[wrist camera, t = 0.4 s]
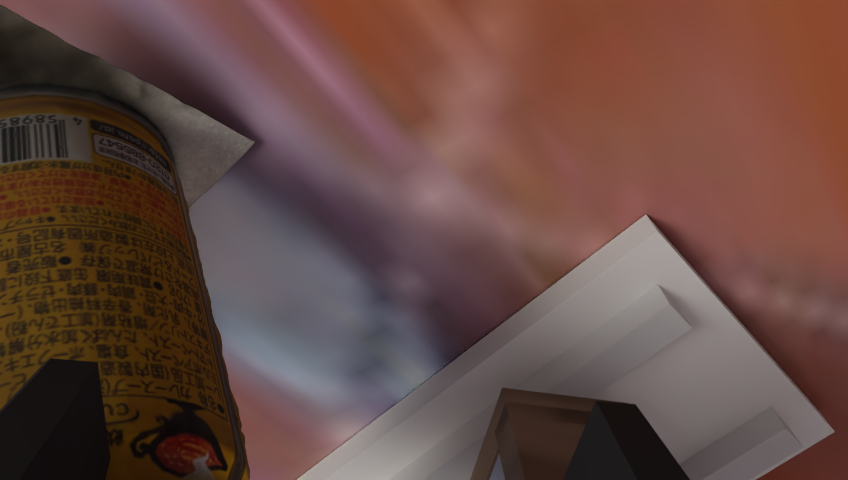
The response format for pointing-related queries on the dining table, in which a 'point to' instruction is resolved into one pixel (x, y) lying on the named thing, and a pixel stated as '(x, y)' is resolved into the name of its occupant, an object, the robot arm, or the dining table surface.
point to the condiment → (113, 252)
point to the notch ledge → (604, 375)
